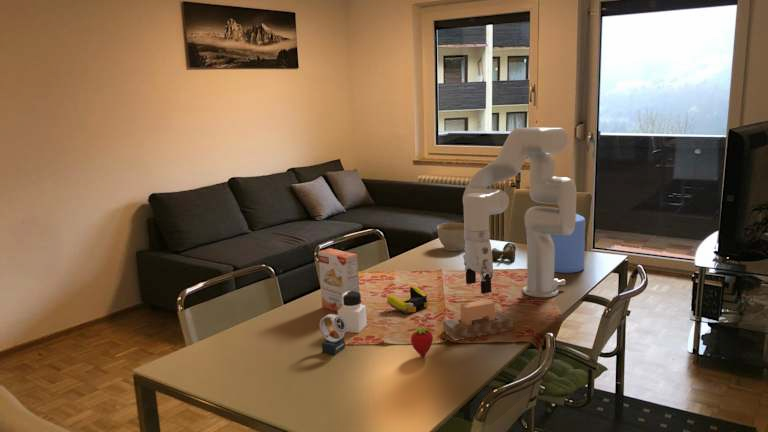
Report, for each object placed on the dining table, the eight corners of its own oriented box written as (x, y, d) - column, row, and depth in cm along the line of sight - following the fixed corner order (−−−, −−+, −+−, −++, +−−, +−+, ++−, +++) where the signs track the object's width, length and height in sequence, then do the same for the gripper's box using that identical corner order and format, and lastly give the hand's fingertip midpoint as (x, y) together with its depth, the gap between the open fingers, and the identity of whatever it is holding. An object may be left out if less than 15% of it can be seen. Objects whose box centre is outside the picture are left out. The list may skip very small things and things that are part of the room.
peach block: (489, 326, 196) (489, 299, 194) (495, 330, 193) (494, 302, 191) (461, 331, 193) (460, 304, 191) (466, 335, 190) (465, 307, 188)
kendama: (521, 254, 277) (511, 265, 259) (500, 253, 281) (488, 264, 263) (521, 241, 276) (511, 251, 258) (499, 240, 280) (488, 250, 262)
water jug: (588, 265, 255) (590, 198, 249) (578, 275, 242) (579, 205, 236) (551, 260, 263) (552, 196, 257) (539, 270, 250) (539, 202, 244)
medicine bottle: (367, 325, 201) (365, 290, 199) (359, 333, 195) (357, 297, 192) (346, 323, 204) (344, 288, 201) (338, 331, 197) (336, 295, 195)
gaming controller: (385, 310, 214) (406, 317, 207) (384, 295, 213) (405, 301, 206) (414, 299, 224) (435, 305, 217) (413, 284, 223) (434, 290, 216)
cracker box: (321, 308, 219) (317, 251, 215) (333, 303, 223) (330, 247, 219) (348, 316, 209) (345, 257, 205) (361, 311, 214) (358, 253, 209)
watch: (340, 356, 179) (338, 320, 177) (317, 351, 183) (315, 316, 180) (350, 349, 184) (348, 314, 181) (328, 344, 188) (325, 310, 185)
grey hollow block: (499, 321, 200) (499, 310, 199) (512, 329, 192) (512, 319, 192) (443, 331, 193) (443, 321, 193) (454, 341, 186) (454, 330, 185)
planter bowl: (436, 253, 282) (435, 230, 280) (438, 244, 298) (438, 222, 295) (471, 253, 279) (471, 230, 277) (472, 244, 295) (472, 222, 293)
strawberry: (407, 360, 174) (406, 327, 172) (418, 349, 181) (417, 317, 179) (426, 363, 172) (425, 329, 170) (437, 353, 178) (436, 320, 176)
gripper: (502, 239, 180) (503, 294, 184) (474, 226, 196) (476, 278, 200) (479, 242, 177) (480, 299, 181) (453, 229, 193) (455, 281, 197)
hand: (478, 288), depth 190 cm, fingers open, 9 cm apart
